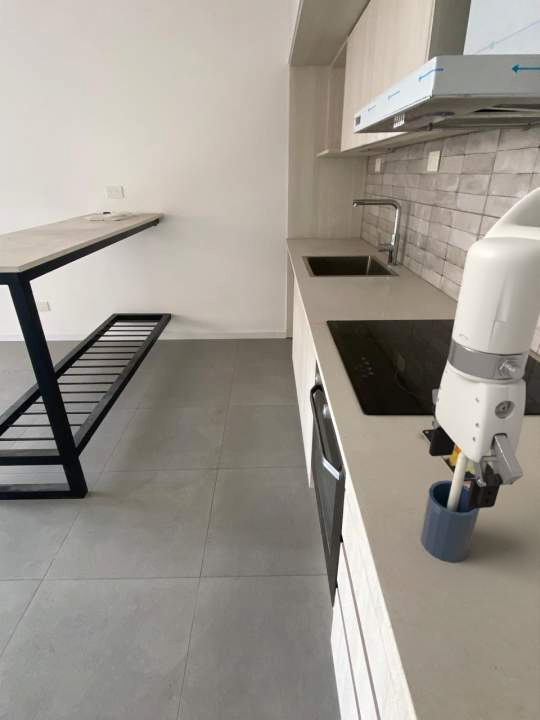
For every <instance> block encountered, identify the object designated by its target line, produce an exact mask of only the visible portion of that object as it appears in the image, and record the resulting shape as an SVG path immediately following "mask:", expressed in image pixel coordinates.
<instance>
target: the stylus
mask: <svg viewBox="0 0 540 720" xmlns="http://www.w3.org/2000/svg"><path fill="white" fill-rule="evenodd" d="M468 459H469V458H468V457H467V456H466V455H465V454H464V453H463V452H460V453H459V454H458V458H457V463H456V468H455V472H454V475H453V477H452V480H451V481H452V486H451V490H450V495H449V500H448V504H447V509H448V510H451V511H454V512H456V511H457V506H458V502H459V498H460V493H461V489H462V485H464V483H463V481H464V476H465V472H466V468H467V463H468Z"/></svg>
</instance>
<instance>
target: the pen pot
mask: <svg viewBox="0 0 540 720" xmlns="http://www.w3.org/2000/svg"><path fill="white" fill-rule="evenodd" d="M452 481H453V480H447V479H446V480H438V481H435V482H434V483H432V484H431V485H430V487H429V489H428V492H427V498H426V503H425V507H424V514H423V520H422V524H421V530H420V542H421V545H422V546H423V548H424V549H425V551H426V552H428V553H429V554H430V555H431V556H432V557H434V558H435V559H437V560H440V561H443V562H445V563H458V562H461V561H464V560H465V559H466V558H467V556H468V554H469V552H470V548H471V545H472V541H473V537H474V533H475V529H476V525H477V522H478V519H479V515H480V511H481V508H477V509H469V508H468V507H467V506H466V500H467V496H468V492H469V488H470V487H469V486H467V485H465V484H463V485H462V489H461V493H460V498H459V502H458V506H457V511H456V512H454V511H451V510H448V509H447V504H448V500H449V495H450V490H451V486H452Z"/></svg>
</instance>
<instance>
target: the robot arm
mask: <svg viewBox="0 0 540 720" xmlns="http://www.w3.org/2000/svg"><path fill="white" fill-rule="evenodd" d="M463 266H464V267H463V271H462V276H461V277H462V278H461V282H460V287H459V288H460V289H459V294H458V299H457V305H456V310H455V316H454V322H453V328H452V333H451V337H450V343H449V350H448V354H447V360H446V364H445V367H444V369H443V373H442V377H441V380H440V384H439V388H438V389H437V388H436V389H432V390H431V394H432V403H433V405H432V407H431V411H432V414H433V418H434V419H433V420H432V421H431V427H432V429H436V430H433V432H432V438H431V443H429V450H428V454H429V455H430V457H440V456H446V455H452V454H453V450H454V446H455V444H456V445H457V446H458V447H459V448H460V450H461V451H462V452H463V453H464V454H465V455H466V456H467V457H468V458H469V459H470V460H472V461H473V466H474V471H475V476H476V479H473V480H472V481H471V483H469V487H468V488H469V492H468V496H467V500H466V506H467V507H468V508H469V509H477V508H480V509H487V508H492V507H494V506H495V504H496V501H497V497H498V494H499V492H500V491H499V490H500V488H501V486H508V485H509V486H511V485H513V484H514V483H515V482H516V481H518V480H519V479H521V478H523V476H524V472H523V469H522V467H521V465H520V463H519V461H518V459H517V457H516V452H517V449H518V445H519V442H520V438H521V432H522V427H523V422H524V417H525V409H526V397H527V394H526V393H527V391H526V390H527V386H526V385H527V384H526V383H527V382H526V381H525V380H524V379H523V377H524V376H525V374H526V371H525V370H526V369H525V368H526V366H527V362H528V359H529V354H530V351H531V348H532V343H533V341H534V337H535V333H536V329H537V326H538V322H539V318H540V186H538V187H537V188H535V189H533V190H531V191H530V192H528V193H527V194H526V195H525V196H523V197H522V198H521V199H520V200H518V201H517V202H515V204H513V206H511V207H510V208H509V209H508V210H507V211H506V212H505V213H504V214H502V216H501V217H500V218H499V219H498V220H497V221H495V223H494V224H493V226H491V228H489V230H488V231H487V232H486V234H485V235H484V236H483V238H482V239H481V238H480V239H479V240H477V241H475V242H473V243H472V245H471V246H470V247H469V248H468V250H467V252H466V257H465V260H464V265H463ZM489 451H490V455H487V454H488V452H489ZM483 462H487V463H489V462H491V465H492V466H491V467H492V469H493V471H494V474H488V475H486V474H485V469H484V463H483Z"/></svg>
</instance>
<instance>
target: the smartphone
mask: <svg viewBox="0 0 540 720" xmlns="http://www.w3.org/2000/svg"><path fill="white" fill-rule="evenodd" d="M433 430H436V429H433V428H432V429H431V428H430V429H423V430H422V431H421V434H422V435H423V437H424V438H425V439H426V441H427V442H428V444H430V443H431V438H432V432H433ZM460 452H462V451H461V450H460V448H459V447H458V446H457V445H456V444H455V446H454V450H453V454H452V455H446V456H439V458H440V459H441V460H442V462H443V463H444V464H445V466H446V467H447V468H448V470H449V471H450V473H451V474H452V475H453V476H454V472H455V468H456V463H457V458H458V454H459V453H460ZM483 463H484V469H485V474H486V475H488V474H494V471H493V467H492V466H491V465H490V464H489V462H483ZM473 479H476V476H475V471H474V466H473V461H472V460H470V459H468V463H467V468H466V472H465V476H464V481H463V484H471V481H472V480H473Z"/></svg>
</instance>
